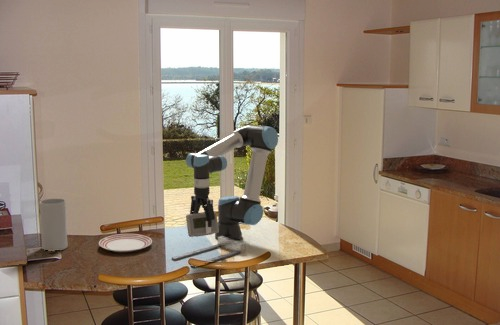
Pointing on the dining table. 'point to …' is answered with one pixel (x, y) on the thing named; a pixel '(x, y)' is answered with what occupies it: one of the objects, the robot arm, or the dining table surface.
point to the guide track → (222, 242)
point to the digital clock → (200, 224)
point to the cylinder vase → (53, 224)
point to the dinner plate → (125, 242)
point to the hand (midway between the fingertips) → (202, 231)
